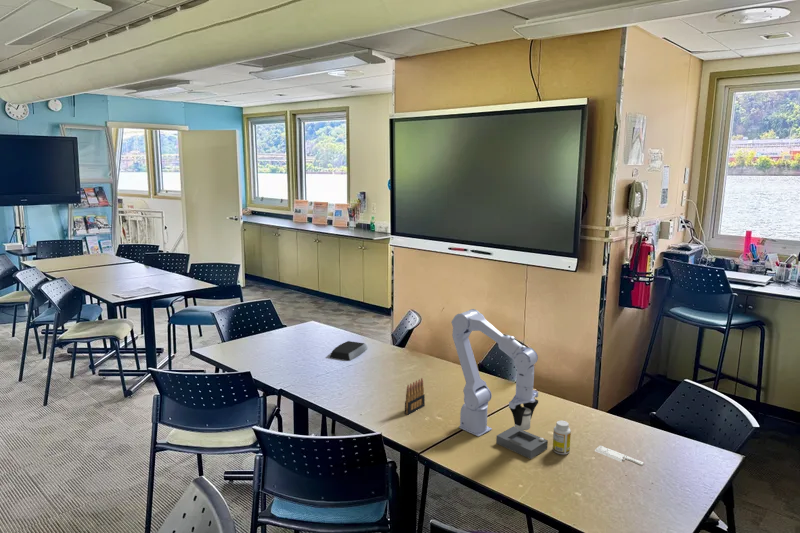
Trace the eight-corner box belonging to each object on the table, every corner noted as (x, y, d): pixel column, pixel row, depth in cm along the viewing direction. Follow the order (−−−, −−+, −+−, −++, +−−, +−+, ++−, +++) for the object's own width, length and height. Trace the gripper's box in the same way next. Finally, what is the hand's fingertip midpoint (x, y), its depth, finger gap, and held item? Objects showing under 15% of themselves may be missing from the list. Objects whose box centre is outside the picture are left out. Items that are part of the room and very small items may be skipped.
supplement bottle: (565, 446, 188) (567, 418, 186) (572, 454, 183) (574, 426, 181) (549, 447, 188) (551, 419, 186) (556, 455, 182) (557, 427, 180)
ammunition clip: (421, 404, 220) (421, 376, 218) (424, 406, 219) (425, 377, 217) (404, 413, 212) (404, 384, 210) (408, 415, 211) (408, 385, 209)
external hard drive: (368, 350, 286) (368, 342, 285) (351, 362, 269) (351, 354, 268) (346, 346, 291) (346, 339, 290) (328, 358, 274) (328, 350, 273)
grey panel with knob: (496, 443, 190) (496, 433, 189) (513, 434, 197) (513, 424, 196) (530, 459, 180) (531, 449, 179) (547, 448, 187) (547, 438, 186)
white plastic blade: (636, 470, 174) (637, 467, 174) (593, 452, 185) (593, 449, 185) (644, 464, 178) (644, 461, 177) (600, 447, 188) (600, 444, 188)
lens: (511, 426, 187) (512, 410, 186) (519, 421, 191) (520, 405, 190) (525, 431, 183) (526, 415, 182) (533, 426, 187) (534, 410, 186)
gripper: (522, 394, 176) (520, 433, 179) (546, 382, 186) (544, 419, 189) (504, 387, 181) (502, 425, 184) (529, 376, 191) (527, 412, 194)
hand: (522, 422), depth 187 cm, fingers closed on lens, 5 cm apart
